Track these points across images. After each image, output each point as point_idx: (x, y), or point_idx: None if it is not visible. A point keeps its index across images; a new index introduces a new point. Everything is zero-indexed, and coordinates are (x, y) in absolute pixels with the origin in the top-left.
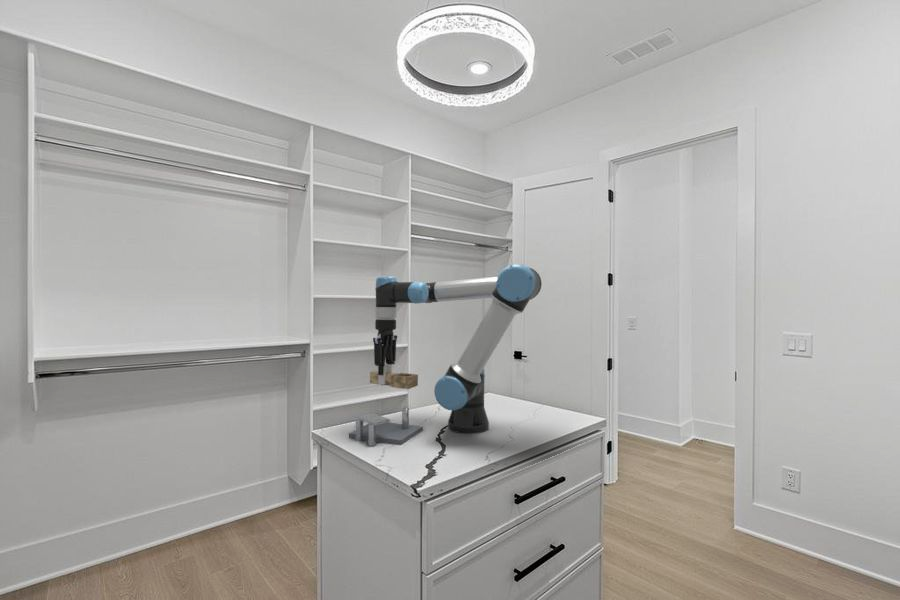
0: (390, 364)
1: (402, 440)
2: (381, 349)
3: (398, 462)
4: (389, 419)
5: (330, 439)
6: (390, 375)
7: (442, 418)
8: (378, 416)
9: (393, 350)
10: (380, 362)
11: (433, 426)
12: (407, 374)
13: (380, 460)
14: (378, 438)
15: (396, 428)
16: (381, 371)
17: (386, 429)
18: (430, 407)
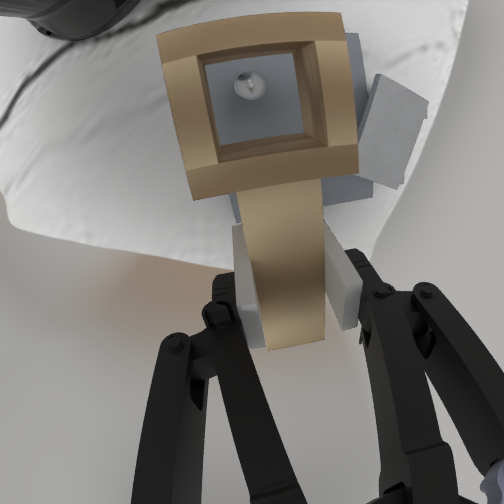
0: (241, 316)
1: (347, 33)
2: (490, 394)
3: (431, 5)
4: (381, 75)
5: (385, 222)
6: (321, 205)
7: (51, 108)
8: (373, 128)
9: (181, 441)
10: (441, 296)
11: (132, 61)
12: (206, 112)
13: (441, 42)
14: (366, 103)
15: (267, 107)
16: (370, 265)
17: (294, 127)
18: (12, 221)
